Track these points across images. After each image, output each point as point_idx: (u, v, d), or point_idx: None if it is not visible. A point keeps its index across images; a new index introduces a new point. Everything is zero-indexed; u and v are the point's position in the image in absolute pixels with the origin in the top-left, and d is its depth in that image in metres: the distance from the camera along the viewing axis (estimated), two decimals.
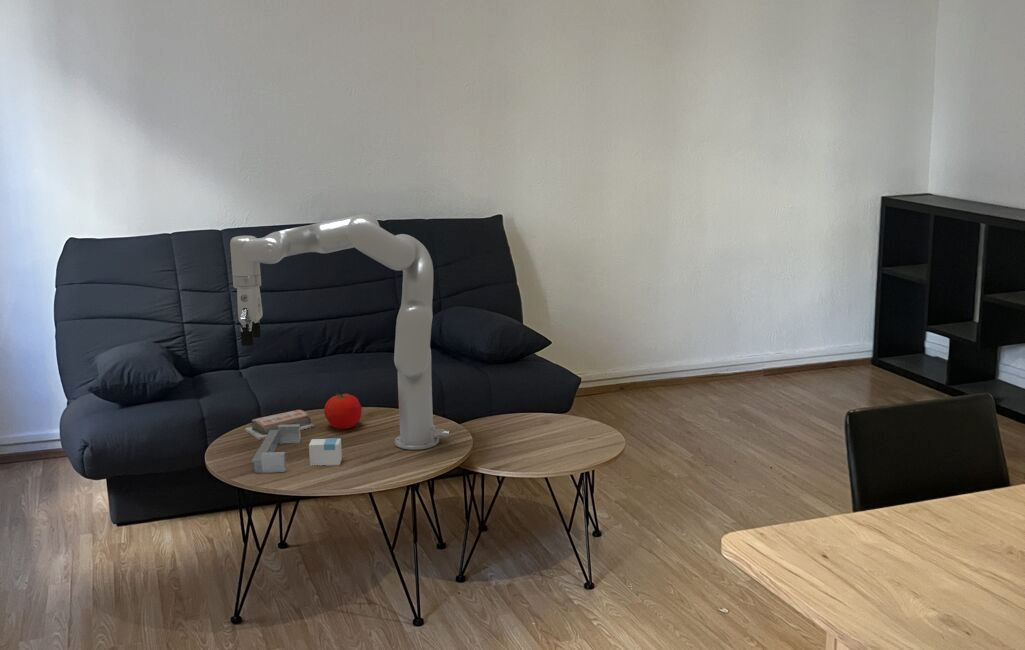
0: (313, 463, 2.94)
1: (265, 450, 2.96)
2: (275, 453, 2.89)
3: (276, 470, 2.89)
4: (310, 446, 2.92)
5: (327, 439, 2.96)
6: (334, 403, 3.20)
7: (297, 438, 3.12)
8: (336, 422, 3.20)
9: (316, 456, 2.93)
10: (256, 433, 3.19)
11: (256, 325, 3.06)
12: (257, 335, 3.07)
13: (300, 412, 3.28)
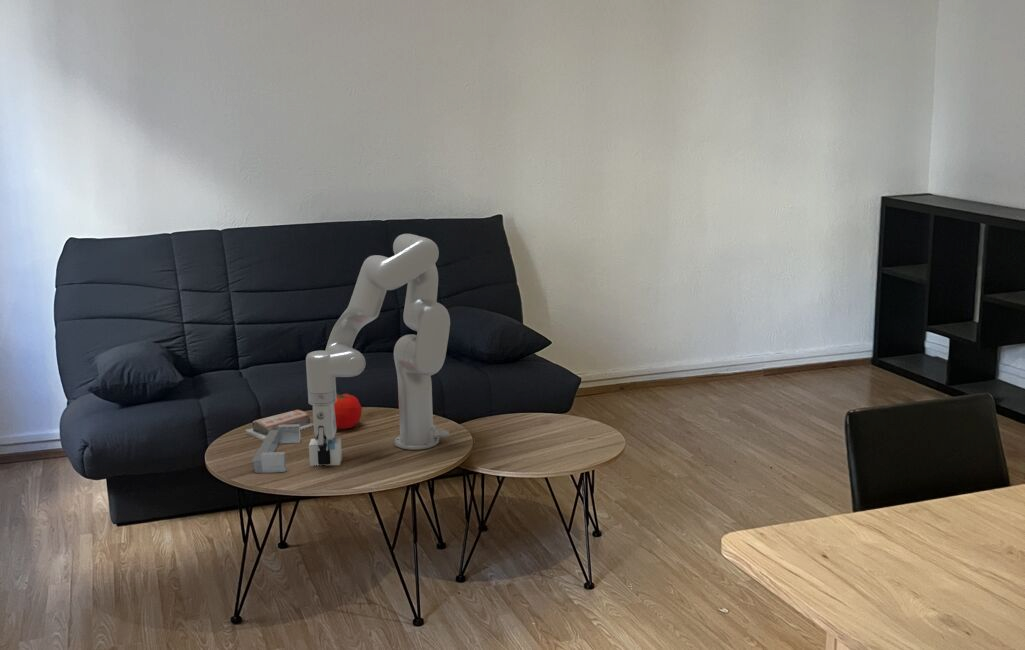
0: (313, 463, 2.93)
1: (265, 450, 2.96)
2: (275, 453, 2.89)
3: (276, 470, 2.89)
4: (310, 446, 2.92)
5: None
6: (334, 403, 3.20)
7: (297, 438, 3.12)
8: (336, 422, 3.20)
9: (316, 456, 2.93)
10: (259, 434, 3.18)
11: None
12: None
13: (299, 412, 3.28)
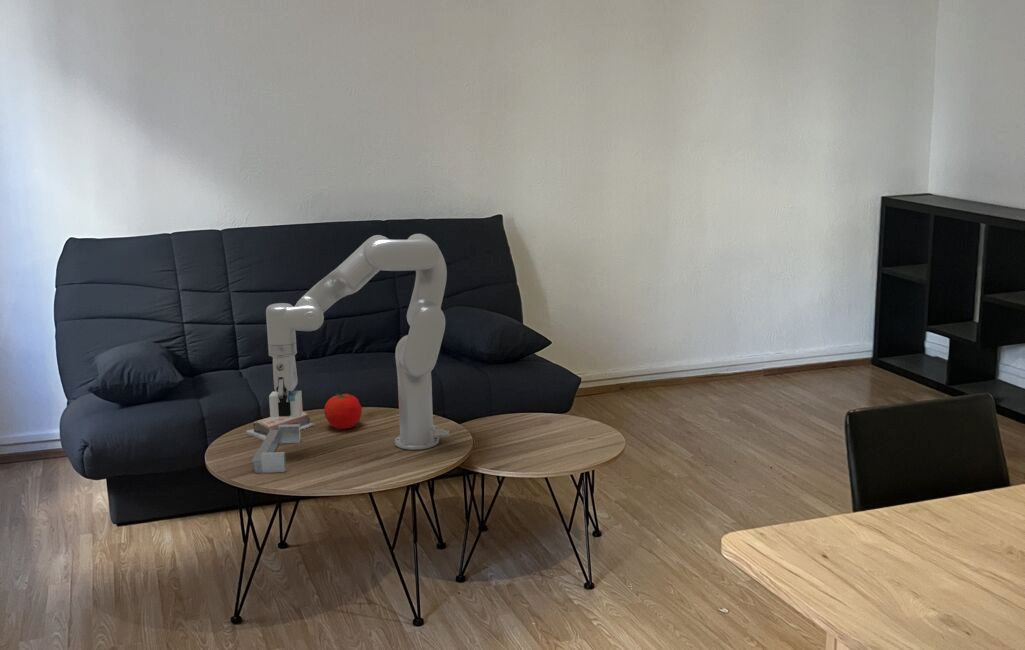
0: (273, 414, 2.96)
1: (265, 450, 2.96)
2: (275, 453, 2.89)
3: (276, 470, 2.89)
4: (270, 397, 2.95)
5: None
6: (334, 403, 3.20)
7: (297, 438, 3.12)
8: (336, 422, 3.20)
9: (276, 408, 2.96)
10: (260, 435, 3.18)
11: None
12: None
13: None
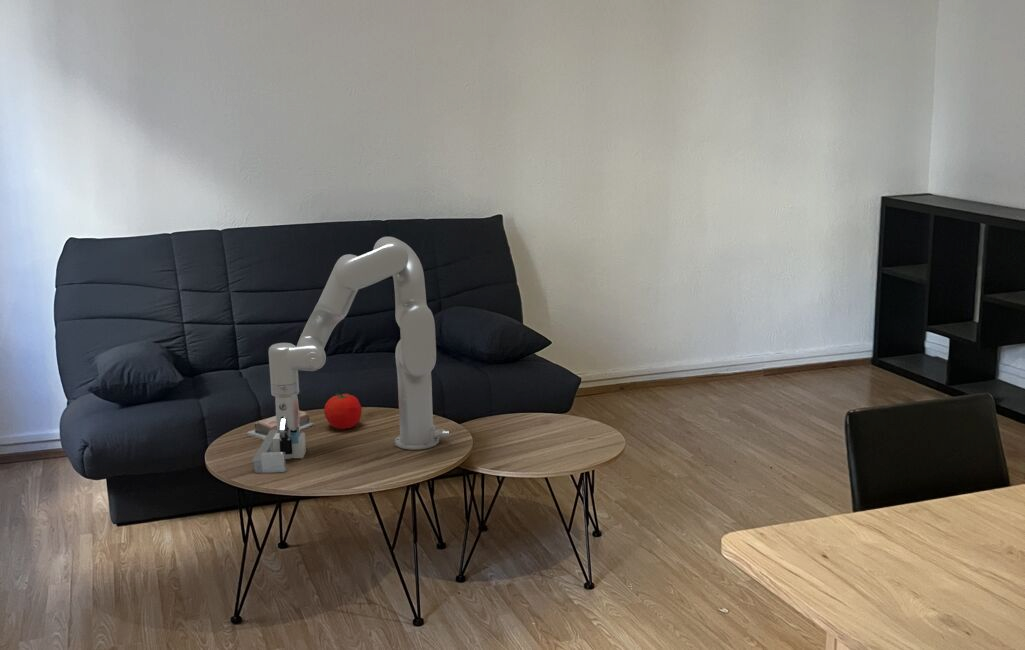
0: None
1: (265, 450, 2.96)
2: (275, 453, 2.89)
3: (276, 470, 2.89)
4: (274, 440, 2.98)
5: (291, 433, 3.02)
6: (334, 403, 3.20)
7: None
8: (336, 422, 3.20)
9: None
10: (262, 435, 3.17)
11: None
12: None
13: None
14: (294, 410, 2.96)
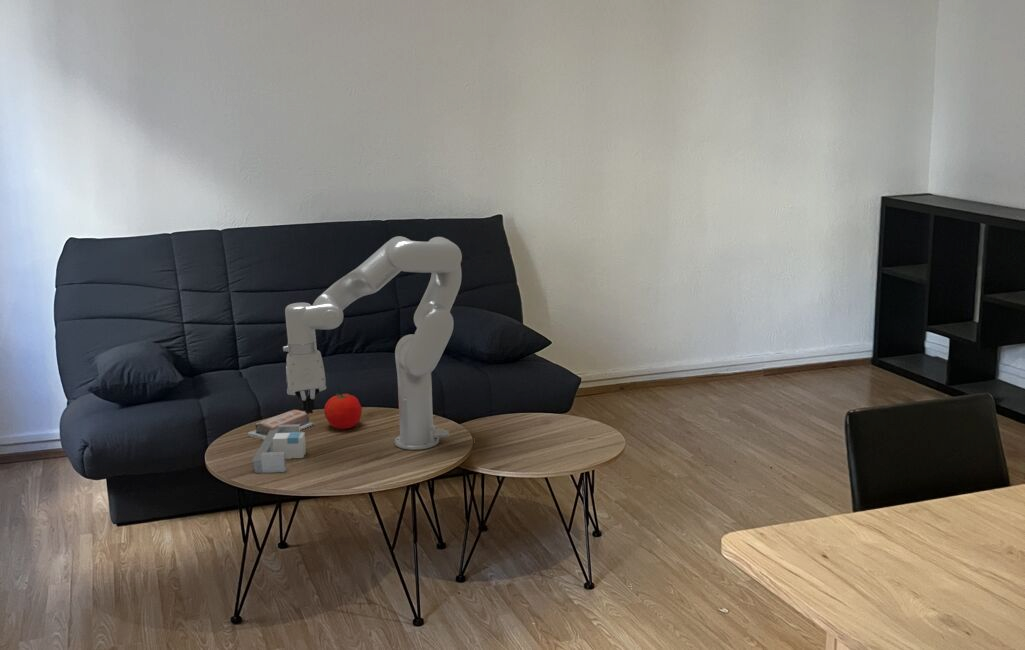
0: None
1: (265, 450, 2.96)
2: (275, 453, 2.89)
3: (276, 470, 2.89)
4: (274, 440, 2.98)
5: (291, 433, 3.02)
6: (334, 403, 3.20)
7: None
8: (336, 422, 3.20)
9: (280, 450, 2.99)
10: (264, 436, 3.17)
11: (308, 401, 2.98)
12: (309, 411, 2.98)
13: (298, 411, 3.28)
14: (295, 371, 2.93)
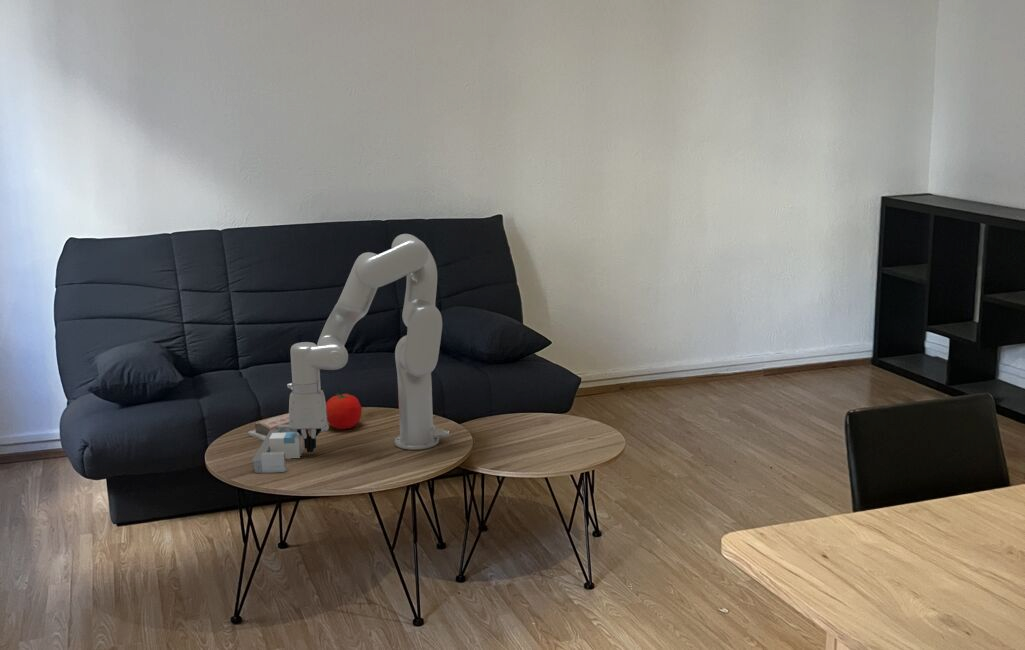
0: None
1: (265, 450, 2.96)
2: (275, 453, 2.89)
3: (276, 470, 2.89)
4: (270, 439, 2.98)
5: (287, 433, 3.02)
6: (334, 403, 3.20)
7: None
8: (336, 422, 3.20)
9: (276, 450, 2.99)
10: (262, 435, 3.17)
11: None
12: None
13: None
14: (295, 410, 2.96)
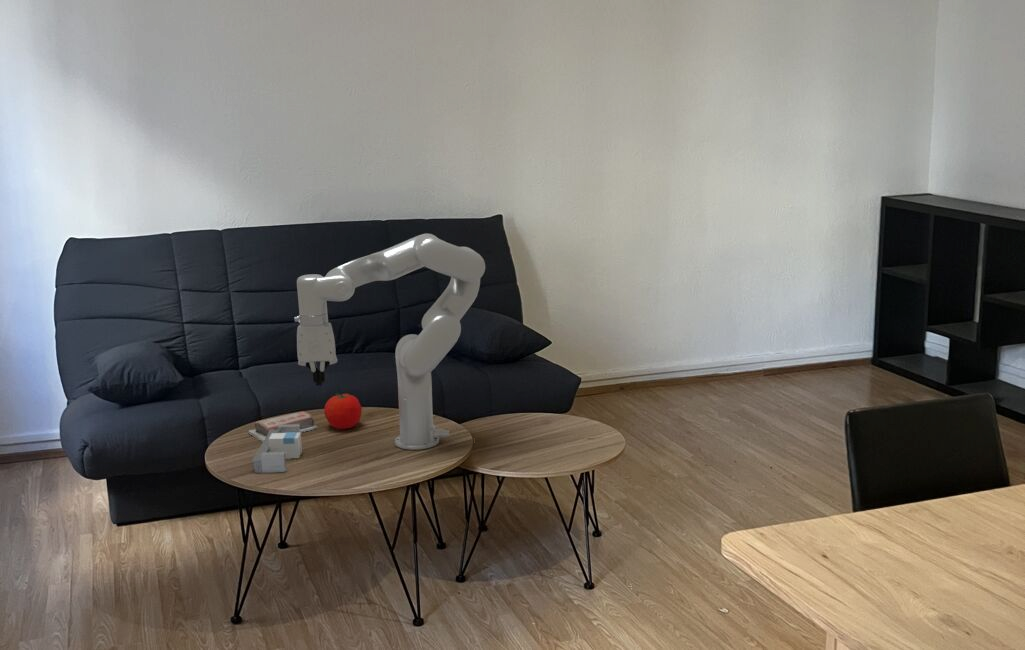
0: None
1: (265, 450, 2.96)
2: (275, 453, 2.89)
3: (276, 470, 2.89)
4: (270, 440, 2.98)
5: (287, 433, 3.02)
6: (334, 403, 3.20)
7: None
8: (336, 422, 3.20)
9: (276, 450, 2.99)
10: (260, 435, 3.17)
11: None
12: None
13: (303, 413, 3.26)
14: (303, 342, 2.94)
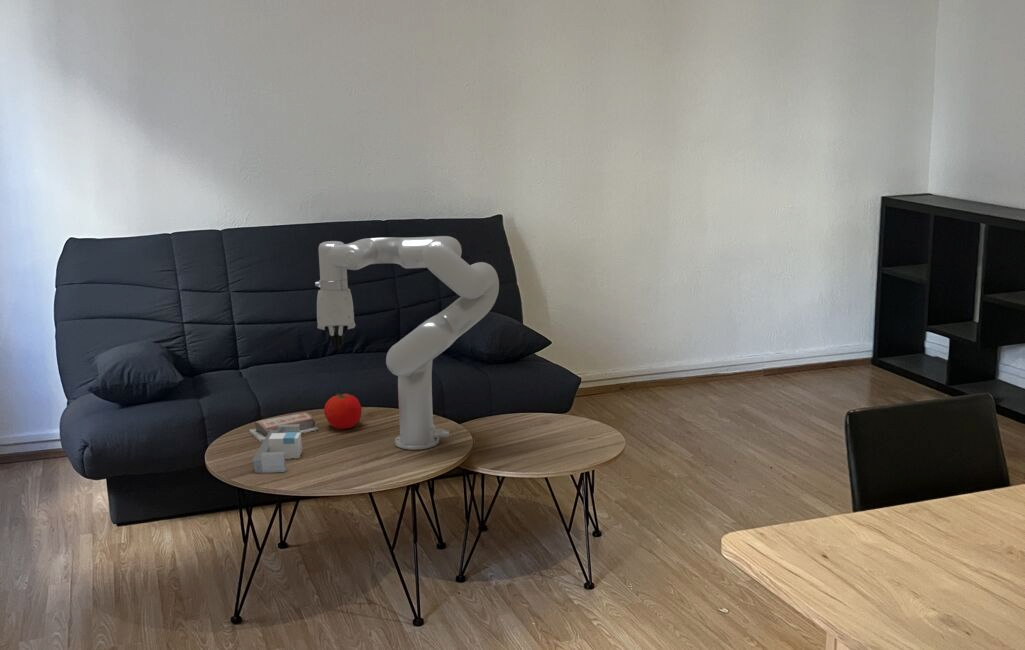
0: None
1: (265, 450, 2.96)
2: (275, 453, 2.89)
3: (276, 470, 2.89)
4: (270, 440, 2.98)
5: (287, 433, 3.02)
6: (334, 403, 3.20)
7: None
8: (336, 422, 3.20)
9: (276, 450, 2.99)
10: (259, 435, 3.17)
11: (336, 337, 3.08)
12: None
13: (305, 415, 3.25)
14: (323, 306, 3.04)
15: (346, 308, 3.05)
